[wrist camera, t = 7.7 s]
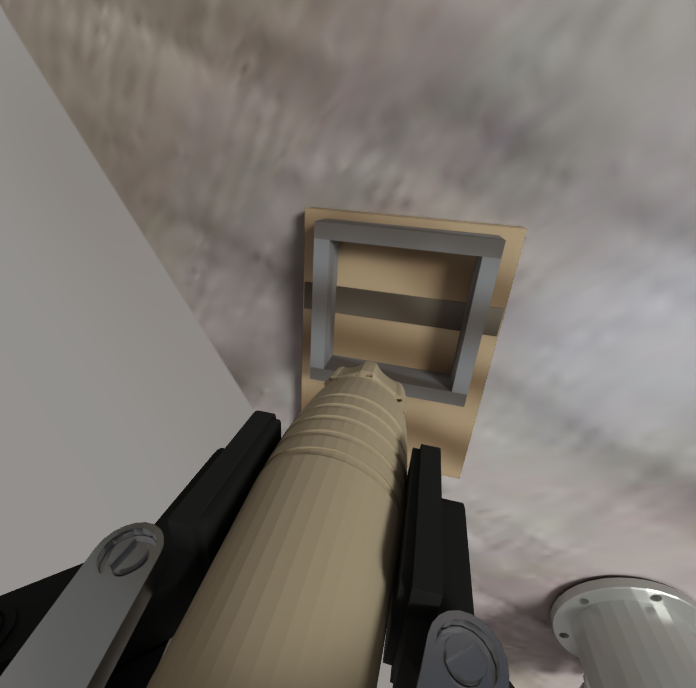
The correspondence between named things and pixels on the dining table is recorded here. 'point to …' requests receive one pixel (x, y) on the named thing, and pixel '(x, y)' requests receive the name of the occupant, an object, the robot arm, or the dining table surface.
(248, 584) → the handle
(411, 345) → the subfloor panel
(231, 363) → the dining table surface
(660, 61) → the dining table surface
